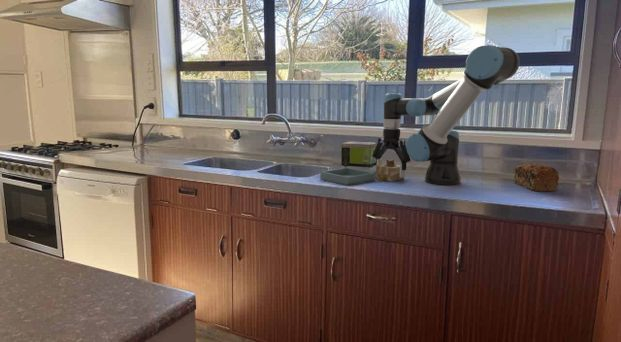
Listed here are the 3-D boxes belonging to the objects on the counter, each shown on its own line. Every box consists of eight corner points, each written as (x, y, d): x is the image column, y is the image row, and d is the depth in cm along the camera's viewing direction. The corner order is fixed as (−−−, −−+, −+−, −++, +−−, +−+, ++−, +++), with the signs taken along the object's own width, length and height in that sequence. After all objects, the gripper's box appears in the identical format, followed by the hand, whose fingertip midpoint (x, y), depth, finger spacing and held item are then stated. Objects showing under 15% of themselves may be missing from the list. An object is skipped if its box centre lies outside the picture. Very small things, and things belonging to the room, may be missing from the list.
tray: (374, 180, 201) (374, 173, 201) (347, 185, 191) (347, 177, 190) (346, 175, 214) (346, 167, 214) (320, 179, 204) (320, 171, 203)
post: (393, 178, 206) (394, 160, 204) (389, 179, 204) (390, 160, 202) (389, 178, 208) (390, 159, 206) (385, 178, 206) (386, 159, 204)
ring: (404, 179, 205) (404, 166, 204) (387, 182, 198) (388, 168, 197) (388, 176, 212) (389, 163, 211) (372, 179, 205) (372, 166, 204)
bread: (558, 192, 181) (560, 167, 179) (531, 191, 181) (533, 167, 179) (536, 182, 199) (538, 160, 197) (512, 182, 199) (514, 160, 198)
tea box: (376, 172, 224) (377, 142, 221) (370, 175, 215) (370, 144, 212) (347, 169, 230) (348, 140, 228) (340, 172, 221) (341, 142, 219)
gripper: (419, 129, 195) (417, 178, 199) (376, 126, 214) (375, 170, 218) (408, 130, 190) (406, 180, 194) (365, 127, 209) (364, 172, 213)
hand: (390, 175), depth 206 cm, fingers open, 13 cm apart
